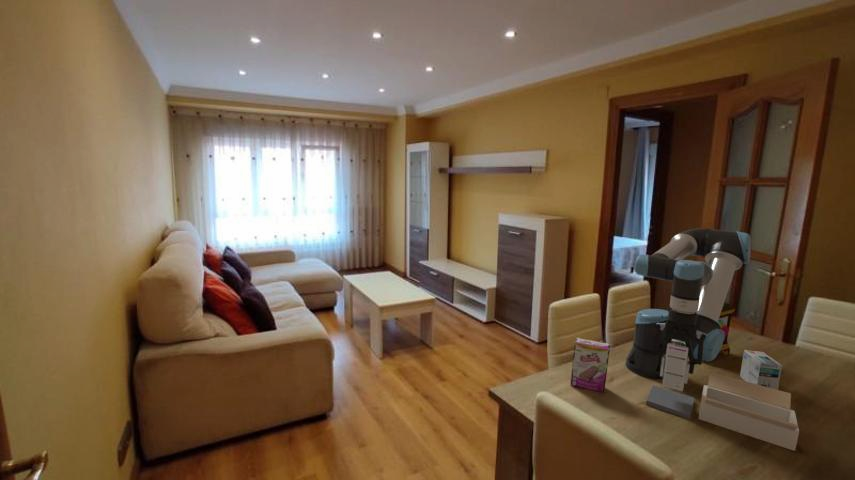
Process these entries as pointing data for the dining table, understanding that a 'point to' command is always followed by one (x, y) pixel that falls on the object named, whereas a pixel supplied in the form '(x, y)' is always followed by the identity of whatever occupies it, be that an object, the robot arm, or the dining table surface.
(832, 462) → the dining table surface
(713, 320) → the robot arm
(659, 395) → the slate mat
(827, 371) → the dining table surface
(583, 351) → the candy bar box
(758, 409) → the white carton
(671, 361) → the syrup box
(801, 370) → the dining table surface
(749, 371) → the light bulb box
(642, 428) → the dining table surface
